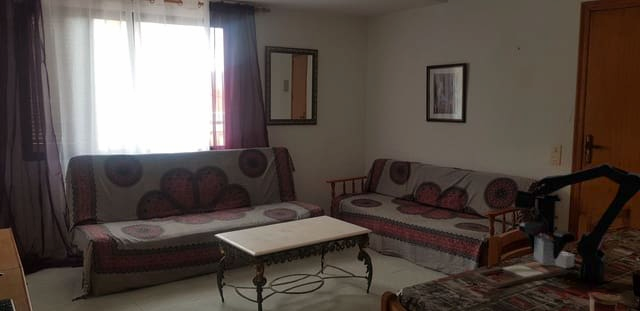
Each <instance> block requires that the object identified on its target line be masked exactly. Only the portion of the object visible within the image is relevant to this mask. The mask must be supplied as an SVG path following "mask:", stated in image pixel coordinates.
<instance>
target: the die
mask: <svg viewBox="0 0 640 311" xmlns="http://www.w3.org/2000/svg"><path fill="white" fill-rule="evenodd" d="M554 266H556V267H559V268H562V269H569V268H574V267H575V254H573V253H570V252H566V251H564V250H562V251H561V253H560V254H559V256H558V258H557V259H555V265H554Z"/></svg>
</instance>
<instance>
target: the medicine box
mask: <svg viewBox="0 0 640 311" xmlns="http://www.w3.org/2000/svg"><path fill="white" fill-rule="evenodd" d="M552 241H553V239H551V238H549V237H547V236H535V237H534V252H533V259H534V260H535V261H538V262H540V263H541V264H543V265H554V266H556V265H555V259H554V244H553V242H552Z"/></svg>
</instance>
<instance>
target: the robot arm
mask: <svg viewBox="0 0 640 311" xmlns="http://www.w3.org/2000/svg"><path fill="white" fill-rule="evenodd" d="M602 177H605V178H606V179H608V180H610V181H611V182H613V183H615V184H617V185H618V189H617V191H616V194H615V197H614V198H613V199H612V201H611V203H609V205H608V207H607V208H606V210H605V211H604V213H603V214H602V216H601V217H600V219H599V220H598V221H597V224H596V225H595V226H594V228H593V229H592V230H591V231H590V232H589V231H588V230H585V232H583V233H582V236H581V237H580V239H579V240H578V241H577V242H576V245H577V246H576V252H577V254H578V256H580V257H581V259H582V261H581V263H580V274H579V276H578V277H577V278H578V279H581V280H584V281H586V282H589V283H592V284H594V285H595V284H596V285H597V284H601V283H606V282H608V279H607V278H606V277H605V276H606V264H607V263H604V260H605V258H606V256H607V255H606V253H605V252H604V251H603V250H602V249H601V248H600V247H601V245H602V242H603V240H604V237H605V235H606V233H607V232H608V231H609V229H610V227H611V226H612V225H613V223H614V222H615V220H616V219H617V218H618V216H619V215H620V213H621V212H622V211H623V208H624V207H625V206H626V204H627V203H628V202H629V201H630V200H631V199H632V198H633V197H635V195H637V193H639V191H640V173H638V172H632V171H631V172H628V171H626V170H625V169H621V168H619V167H616V166H613V165H611V164H610V163H607V162H606V163H605V162H604V163H602V164H600V165H597V166H592V167H589V168H586V169H582V170H578V171H575V172H571V173H568V174H557V175H548V176H545V177H543V178H541V179H539V181H538V182H537V187H536V188H535V189H534V190H533V191H526V190H523V189H518V190H517V192H516V193H517V194H516V196H515V200H514V206H515V209H518V210H519V209H520V210H526V211H534V209H536V208H537V213H535V214H534V217H533V219H532V220H529V221H524V222H523V221H522V222H520V224H519V225H518V226H519V227H518V231H521V233H522V234H524V235H525V236H526V238H527V240H528V242H529V245H530V248H531V251H532V253H534V237H535V236H539V234H540V233H542V234H546V235H550V236H553V239H554V240H553V241H552V242H553V244H554V259H557V258H558V256H559V254H560V253H561V252H563V249H564V248H565V247H566V245H567V244H570V243H571V242H574V241H575V235H574V233H573V232H571V231H566V230H563V229H562V230H559V231H558V227H557V226H556V220H557V219H559V215H557V214H556V210H557V202H558V203H559V202H562V201H563V200H564V198H563V197H561V196H560V194H559V193H555V192H557V191H560V190H561V189H563V188H566V187H568V186H571V185H575V184H581V183H583V182H587V181H591V180H594V179H597V178H602ZM552 193H555V195H554V194H553V195H552ZM541 195H544V196H541ZM554 230H557V232H556V231H554ZM549 232H550V233H549Z"/></svg>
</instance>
